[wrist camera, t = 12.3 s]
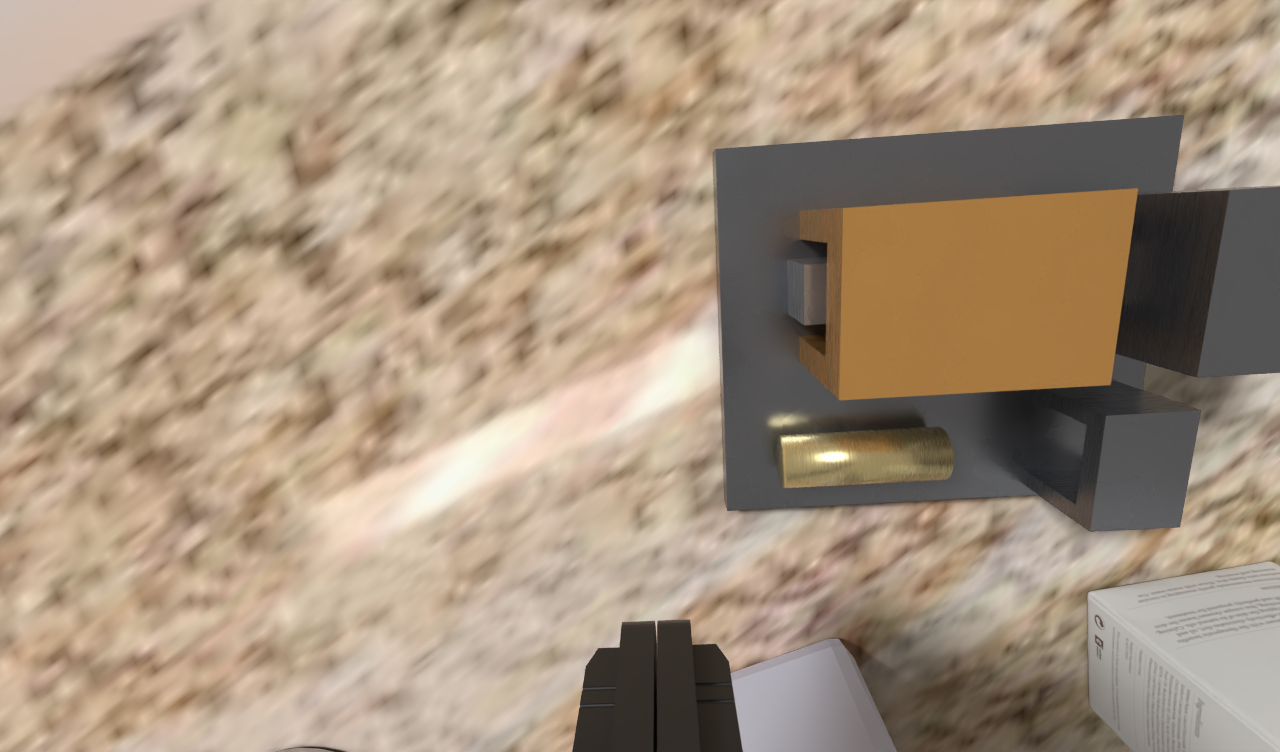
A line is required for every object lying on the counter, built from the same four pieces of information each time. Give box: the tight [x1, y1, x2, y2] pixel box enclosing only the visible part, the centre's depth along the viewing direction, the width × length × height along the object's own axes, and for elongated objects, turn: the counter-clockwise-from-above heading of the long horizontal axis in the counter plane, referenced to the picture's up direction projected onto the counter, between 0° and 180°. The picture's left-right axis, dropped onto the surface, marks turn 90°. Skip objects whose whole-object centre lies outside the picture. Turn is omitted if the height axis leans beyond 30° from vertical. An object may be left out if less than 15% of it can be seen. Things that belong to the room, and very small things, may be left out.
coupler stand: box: [713, 115, 1280, 532], centre depth 20 cm, size 14×16×7 cm
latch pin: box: [776, 427, 954, 488], centre depth 23 cm, size 2×6×2 cm, turn 94°
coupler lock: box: [799, 188, 1138, 400], centre depth 20 cm, size 6×8×5 cm
